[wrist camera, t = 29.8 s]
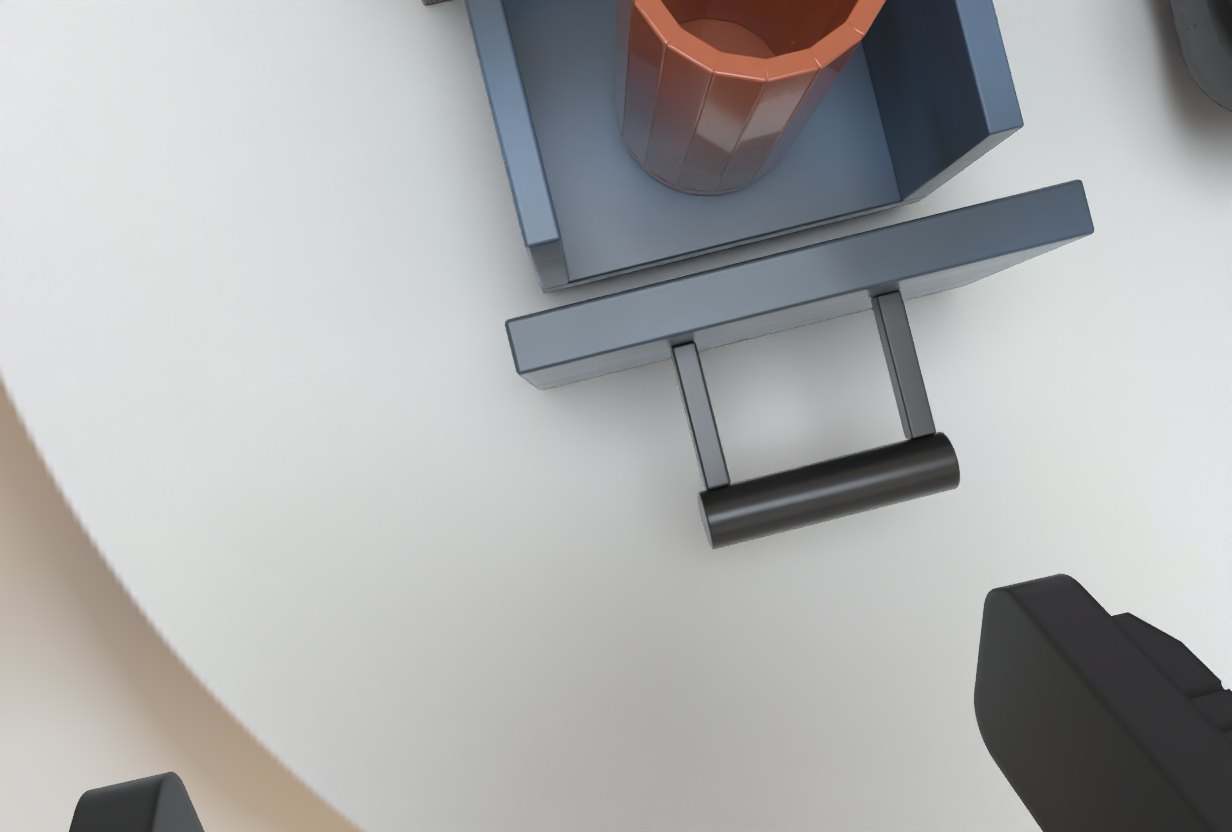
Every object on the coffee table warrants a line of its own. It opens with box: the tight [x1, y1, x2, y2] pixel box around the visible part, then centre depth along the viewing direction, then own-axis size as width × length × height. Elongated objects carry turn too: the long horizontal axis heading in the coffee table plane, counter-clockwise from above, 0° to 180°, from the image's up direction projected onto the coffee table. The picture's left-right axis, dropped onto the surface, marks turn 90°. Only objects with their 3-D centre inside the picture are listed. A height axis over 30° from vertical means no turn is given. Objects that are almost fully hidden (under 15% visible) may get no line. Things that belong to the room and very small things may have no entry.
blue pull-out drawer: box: [464, 0, 1094, 549], centre depth 26 cm, size 20×13×8 cm, turn 14°
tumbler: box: [613, 0, 886, 196], centre depth 24 cm, size 5×5×10 cm
